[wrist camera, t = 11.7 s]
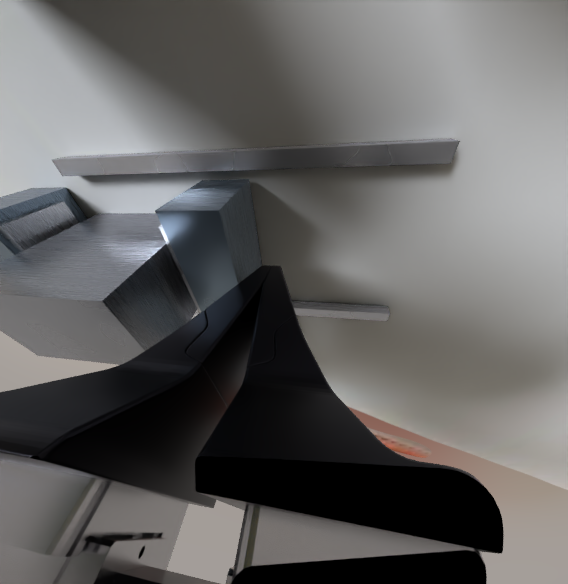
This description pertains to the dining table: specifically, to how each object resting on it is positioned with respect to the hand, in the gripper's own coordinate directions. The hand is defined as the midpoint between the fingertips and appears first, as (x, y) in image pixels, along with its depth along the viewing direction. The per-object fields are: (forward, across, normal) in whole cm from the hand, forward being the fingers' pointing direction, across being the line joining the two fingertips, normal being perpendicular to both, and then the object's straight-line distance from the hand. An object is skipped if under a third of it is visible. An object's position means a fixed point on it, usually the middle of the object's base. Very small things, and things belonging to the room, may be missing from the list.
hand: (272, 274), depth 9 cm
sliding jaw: (+2, +2, +2) cm, 3 cm away
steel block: (+2, +6, 0) cm, 7 cm away
